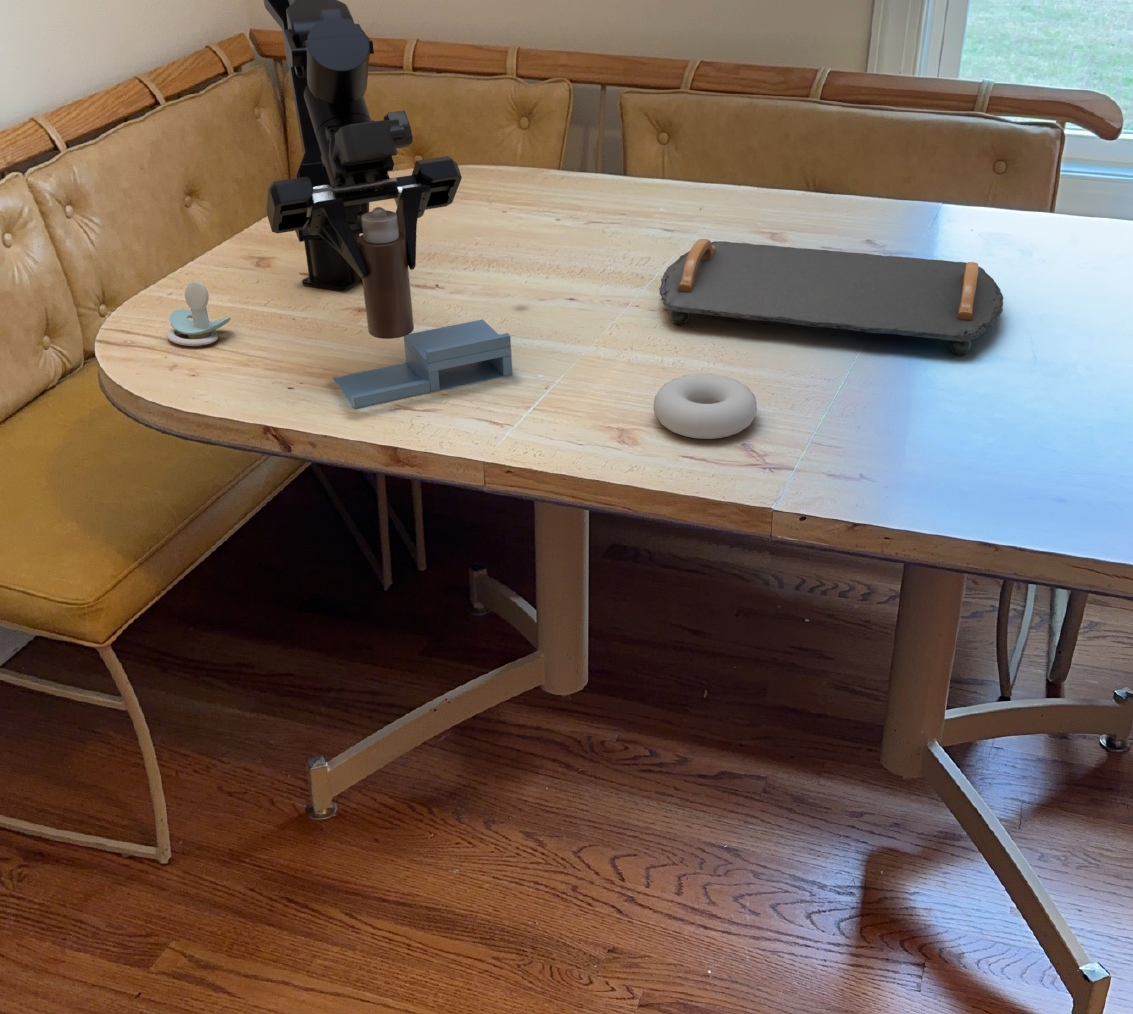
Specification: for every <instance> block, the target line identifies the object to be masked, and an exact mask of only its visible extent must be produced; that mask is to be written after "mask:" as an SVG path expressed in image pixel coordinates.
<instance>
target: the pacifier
mask: <svg viewBox="0 0 1133 1014" xmlns="http://www.w3.org/2000/svg"><path fill="white" fill-rule="evenodd" d="M184 298H185V299H184V300H185V303H186V304H187V307H188V308H189V309H186V308H180V309H179V308H178V309H175V310H174V311H172V312H171V313H170V315H169V323H170V326H171V327H172V329H171V330H169V331H168V332H167V334H166V338H167V340H169V341H170V342H171V343H173V344H176V345H181V346H187V347H197V346H198V347H201V346H207V345H211V344H213V343H215V342H216V341H217V340H219V335H218V333H217V330H218V329H220V328H221V327H223V326H226V324H228V323H229V322H230V321H231V320H232V319H231V316H228V317H224V318H221V319H217V320H213V321H210V319H209V313H208V309H207V306H208V304H209V299H210V296H209V291H208V289H207V287H206V286H205V284H203V283H201V282H200V281H191V282H189V283H188V284H187V286H185V291H184ZM190 319H192V320H190ZM181 334H184V335H186V336H187V337H188V338H183V337H180V336H179V335H181Z"/></svg>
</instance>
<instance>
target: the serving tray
mask: <svg viewBox="0 0 1133 1014" xmlns="http://www.w3.org/2000/svg"><path fill="white" fill-rule="evenodd" d="M660 283H661V284H660V286H659V295H660V296H661V301H662V304H663V306H664V307H665V308H666V309H667V310H668V311H670V313H669V319H670V320H671V322H672V324H673V325H674V326H679V327H680V326H684V325H685V324H686V322H687V321H688V320H689V316H690V315H689V314H696V315H705V316H714V317H723V318H732V319H740V320H749V321H757V322H758V321H761V322H774V323H782V324H783V323H784V324H791V325H796V326H801V327H802V326H804V327H811V328H827V329H835V330H847V331H853V332H854V331H855V332H862V333H863V332H864V333H866V334H881V335H883V334H886V335H899V336H905V337H908V336H909V337H915V338H925V339H932V340H933V339H934V340H942V341H950V343H949V347H950V350H951V351H952V354H953V355H954V356H957V357H965V356H966V355H967V353H968V352H969V351H970V350H971V347H972V341H973V340H976V339H977V338H979V337H980V336H982V335H983V334H984V333H985V332H987V331H988V330H989V329H991V328H992V327H993V325H995V324H996V323H997V321H998V318H999V317H1001V315H1002V314H1003V312H1004V311H1003V310H1004V309H1003V308H1004V295H1003V294H1002V292H1001V287H999V285H998V284H997V282H996V281H995V280H994V278H993V277H991V276H990V275H989V273H987V272H986V270H985V269H984V268H982V267H981V266H979V263H977V262H976V261H975V262H974V261H968V262H964V261H952V260H943V259H927V258H918V257H908V256H897V255H896V256H895V255H882V254H874V253H873V254H872V253H865V252H850V251H841V250H829V249H817V248H807V247H806V248H803V247H802V248H801V247H791V246H782V245H781V246H780V245H773V244H756V243H755V244H754V243H749V242H732V241H723V240H720V241H719V240H718V241H717V240H716V241H715V240H714V241H711V240H710V239H708V238H700V239H698V240H696V241H695V243H694V244H693V245H692V247H691V248H690V250H689V251H687V252H686V253H684V254H682V255H680V256H679V257H678V259H677V260H675V261H674V262H673V263H671V264H670V265H668V267H667V268H666V270H664V272H663V275H662V277H661V279H660Z"/></svg>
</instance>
